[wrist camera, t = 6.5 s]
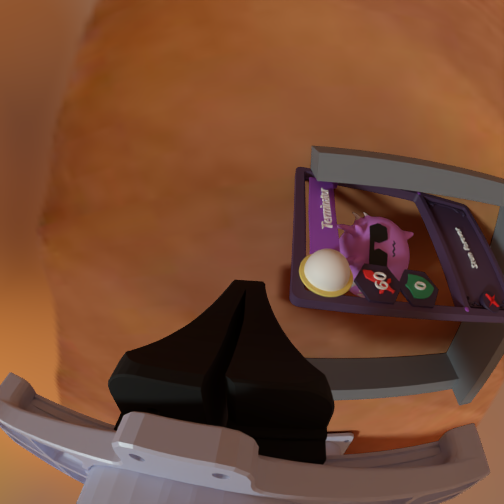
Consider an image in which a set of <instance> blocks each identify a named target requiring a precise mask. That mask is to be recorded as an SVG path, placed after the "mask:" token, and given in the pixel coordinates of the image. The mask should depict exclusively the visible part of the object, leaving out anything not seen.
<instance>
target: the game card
mask: <svg viewBox="0 0 504 504" xmlns="http://www.w3.org/2000/svg"><path fill="white" fill-rule="evenodd" d="M305 180H309V231H310V255H308V256H307V257H306V208H305ZM337 185H339V186H344V187H350V188H355V189H360V190H365V191H370V192H374V193H379V194H384V195H388V196H393V197H397V198H401V199H406V200H410V201H413V202H415V204H416V206H417V208H418V210H419V212H420V214H421V217H422V219H423V221H424V223H425V226H426V228H427V230H428V233H429V235H430V237H431V240H432V242H433V245H434V247H435V250H436V252H437V255H438V258H439V260H440V263H441V266H442V269H443V271H444V274H445V277H446V280H447V283H448V286H449V289H450V292H451V295H452V299H453V302H454V305H455V307H451V306H440V305H435V301H436V297H437V293H438V289H437V287H436V286H435V285H434V284H433V282H432V281H431V280H430V279H429V277H428V276H427V275H426V274H425V272H420V271H413V270H407V269H408V265H409V259H410V252H409V246H408V242H407V240H408V239H409V238H411V237H412V236H413V235H414V234H413V232H408V231H403V230H401V229H400V228H399V227H398V226H397V225H396V224H395V223H394V222H392V221H391V220H389V219H387V218H384V217H372V216H369V215H368V214H367V213H365V212H363V213H364V218H361V217H360V216H359V215H358V214H356V213H354V212H352V213H353V214H354V216H355V218H356V219H355V222H354V224H353V225H352V226H349V225H344V224H339V225H337V222H336V213H335V200H334V189H336V188H337ZM333 188H334V189H333ZM337 228H340V229H343V230H345V232H344V233H343V234H342V236H341V237H340V239H339V236H338V229H337ZM305 286H306V287H307V288H308V289H309V290H311V291H307V290H306V289H305ZM348 291H350V292H352V293H353V294H355V295H357V296H359V297H353V296H345V295H343V294H345V293H346V292H348ZM399 292H401V293H402V294H403V295H404V297H405V298H406V299H407V301H408V302H409V303H408V302H398V301H396V298H397V296H398V294H399ZM289 298H290V301H291V303H292V304H293V305H295V306H298V307H305V308H313V309H321V310H330V311H339V312H348V313H358V314H368V315H379V316H390V317H402V318H415V319H430V320H446V321H465V322H492V323H504V276H503V273H502V271H501V269H500V267H499V265H498V262H497V260H496V258H495V256H494V254H493V252H492V250H491V248H490V246H489V244H488V242H487V241H486V239H485V237H484V235H483V233H482V231H481V230H480V228H479V226H478V224H477V222H476V221H475V219H474V217H473V216H472V214H471V212H470V211H469V209H468V207H467V206H465V205H464V204H461V203H458V202H454V201H451V200H448V199H444V198H441V197H437V196H434V195H430V194H426V193H423V192H418V191H411V190H403V189H395V188H387V187H378V186H369V185H359V184H348V183H337V182H324V181H317V180H316V178H315V176H314V174H313V172H312V170H311V169H310V168H304V167H298V168H297V169H296V174H295V193H294V221H293V243H292V262H291V280H290V295H289Z"/></svg>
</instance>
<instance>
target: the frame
mask: <svg viewBox="0 0 504 504" xmlns="http://www.w3.org/2000/svg"><path fill="white" fill-rule="evenodd" d="M311 170H312V172H313V174H314V176H315V178H316V180H317V181H324V182H337V183H348V184H359V185H369V186H378V187H387V188H395V189H403V190H411V191H418V192H425V193H432V194H438V195H444V196H450V197H456V198H462V199H467V200H473V201H478V202H483V203H488V204H493V205H498V206H500V210H499V215H498V219H497V223H496V227H495V231H494V234H493V238H492V242H491V245H490V248H491V250H492V252H493V254H494V256H495V258H496V260H497V262H498V265H499V267H500V269H501V271H502V273H503V276H504V179H502V178H499V177H495V176H492V175H488V174H484V173H480V172H476V171H472V170H468V169H464V168H460V167H455V166H451V165H446V164H442V163H437V162H432V161H427V160H421V159H416V158H410V157H404V156H398V155H391V154H384V153H377V152H370V151H362V150H353V149H344V148H333V147H322V146H312V154H311ZM503 354H504V323H492V322H465V321H462V323H461V325H460V327H459V329H458V331H457V333H456V335H455V337H454V339H453V341H452V343H451V345H450V347H449V349H448V351H447V353H442V354H432V355H420V356H407V357H390V358H361V359H315V358H305V359H306V360H308V361H309V362H310V363H311V364H312V365H313V366H315V367H316V368H317V369H318V370H320V371H321V372H322V373H323V374H325V376H326V378H327V380H328V383H329V386H330V389H331V392H332V395H333V400H356V399H373V398H386V397H397V396H406V395H414V394H422V393H429V392H436V391H442V390H448V389H453V392H454V394H455V396H456V399H457V401H458V404H459V405H463V404H468V403H470V402H471V401H472V400H473V398H474V397H475V396H476V394H477V393H478V392H479V390H480V389H481V388H482V386H483V385H484V383H485V382H486V381H487V379H488V378H489V376H490V375H491V373H492V372H493V370H494V369H495V367H496V366H497V364H498V362H499V361H500V359H501V358H502V356H503Z"/></svg>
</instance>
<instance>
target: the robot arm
mask: <svg viewBox="0 0 504 504" xmlns="http://www.w3.org/2000/svg"><path fill="white" fill-rule="evenodd" d="M108 387H109V390H110V393H111V395H112V396H113V398H114V400H115V402H116V404H117V406H118V407H119V409H120V411H121V414H120V416H119V419H118V421H117V423H116V425H115V426H114V425H111V424H108V423H105V422H102V421H100V420H97V419H94V418H91V417H89V416H86V415H83V414H81V413H78V412H76V411H73V410H71V409H69V408H66V407H64V406H62V405H59V404H57V403H55V402H52V401H50V400H48V399H46V398H44V397H42V396H40V395H38V394H36V393H35V391H34V389H33V387H32V386H31V385H30V384H29V383H28V382H27V381H26V380H25V379H23V378H21V377H19V376H17V375H15V374H13V373H9V374H8V376H7V377H6V378H5V380H4V381H3V382H2V384H1V385H0V428H1V429H2V430H3V431H4V432H5V433H6V434H7V435H8V436H9V437H10V438H11V439H12V440H13V441H14V442H16V443H17V444H19V445H20V446H22V447H23V448H25V449H26V450H28V451H29V452H31V453H32V454H34V455H35V456H37V457H38V458H40V459H42V460H43V461H45V462H46V463H48V464H50V465H51V466H53V467H55V468H56V469H58V470H60V471H61V472H63V473H65V474H67V475H68V476H70V477H72V478H74V479H76V480H77V481H79V482H81V483H83V484H84V486H83V488H82V491H81V493H80V496H79V498H78V501H77V503H76V504H439V503H442V502H445V501H447V500H450V499H453V498H455V497H457V496H458V495H460V494H462V493H463V492H465V491H466V490H468V489H469V488H471V487H472V486H474V485H475V484H477V483H478V482H479V481H481V480H482V479H483V478H485V477H486V476H488V475H489V473H490V469H489V466H488V463H487V459H486V456H485V453H484V450H483V447H482V444H481V441H480V438H479V435H478V432H477V430H476V427H475V424H474V423H471V424H468V425H464V426H461V427H457V428H453V429H451V430H449V431H447V432H446V433H445V434H444V435H443V436H442V437H441V438H440V439H439V441H436V442H431V443H427V444H422V445H417V446H412V447H406V448H400V449H393V450H386V451H379V452H370V453H360V454H347V455H343V454H344V453H345V451H346V450H347V448H348V446H349V445H350V443H351V442H352V440H353V438H354V434H353V433H333V434H327V426H328V424H329V422H330V419H331V417H332V415H333V412H334V400H333V395H332V392H331V389H330V386H329V383H328V380H327V378H326V376H325V374H323V373H322V372H321V371H320V370H318V369H317V368H316V367H315V366H313V365H312V364H311V363H310V362H309V361H308V360H306V359H305V358H304V357H303V356H302V354H301V353H300V352H299V351H298V350H297V349H296V348H295V346H294V345H293V344H292V343H291V342H290V340H289V339H288V337H287V336H286V335H285V333H284V332H283V330H282V328H281V327H280V325H279V323H278V321H277V319H276V317H275V315H274V313H273V311H272V309H271V306H270V303H269V301H268V298H267V294H266V289H265V283H264V282H261V281H246V280H234V281H233V282H232V283H231V284H230V285H229V287H228V288H227V289H226V290H225V291H224V292H223V294H222V295H221V296H220V297H219V298H218V299H217V300H216V301H215V302H214V303H213V304H212V305H211V306H210V307H209V308H208V309H206V310H205V311H204V312H203V313H202V314H201V315H200V316H198V317H197V318H196V319H195V320H193V321H192V322H191V323H189V324H188V325H186V326H185V327H183V328H181V329H180V330H178V331H176V332H174V333H173V334H171V335H169V336H167V337H165V338H163V339H161V340H159V341H156V342H154V343H151V344H149V345H146V346H143V347H140V348H137V349H134V350H131V351H127V352H126V353H125V354H124V356H123V357H122V358H121V360H120V361H119V363H118V365H117V366H116V368H115V370H114V372H113V373H112V375H111V377H110V379H109V381H108Z"/></svg>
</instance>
